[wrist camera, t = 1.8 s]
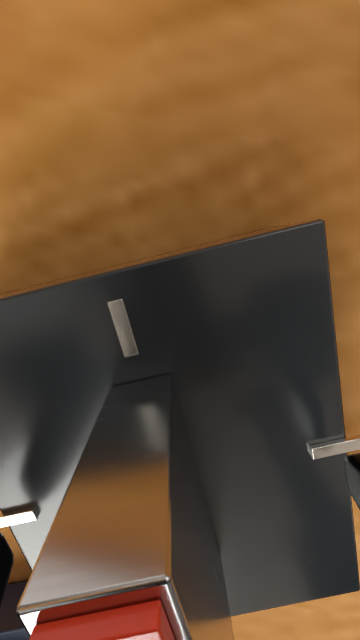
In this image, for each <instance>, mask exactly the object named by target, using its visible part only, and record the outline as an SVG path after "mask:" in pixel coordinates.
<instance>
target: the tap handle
mask: <svg viewBox="0 0 360 640" xmlns="http://www.w3.org/2000/svg"><path fill="white" fill-rule="evenodd" d="M17 616H18V618H19V619H20V621H21V623H22V625H23V626H24V628H25V630H26V632H27V633H28V635H29V637H30V639H29V640H234V635H233V629H232V622H231V616H230V610H229V603H228V597H227V591H226V584H225V578H224V572H223V565H222V560H221V556H220V552H219V549H218V545H217V541H216V538H215V534H214V530H213V527H212V523H211V519H210V515H209V512H208V508H207V504H206V501H205V497H204V493H203V490H202V486H201V482H200V479H199V475H198V471H197V468H196V464H195V460H194V456H193V453H192V449H191V445H190V442H189V438H188V434H187V431H186V427H185V423H184V420H183V416H182V412H181V408H180V405H179V401H178V397H177V394H176V390H175V386H174V383H173V379H172V376H171V375H170V374H168V375H164V376H159V377H155V378H151V379H146V380H142V381H138V382H133V383H129V384H125V385H121V386H116V387H112V388H110V389H109V391H108V394H107V396H106V398H105V401H104V403H103V405H102V408H101V410H100V412H99V415H98V417H97V420H96V422H95V424H94V427H93V429H92V431H91V434H90V436H89V438H88V441H87V443H86V445H85V448H84V450H83V452H82V455H81V457H80V460H79V462H78V464H77V467H76V469H75V471H74V474H73V476H72V478H71V481H70V483H69V485H68V488H67V490H66V493H65V495H64V497H63V500H62V502H61V504H60V507H59V509H58V511H57V514H56V516H55V518H54V521H53V523H52V525H51V528H50V530H49V533H48V535H47V537H46V540H45V542H44V544H43V547H42V549H41V551H40V554H39V556H38V558H37V561H36V563H35V565H34V568H33V570H32V573H31V575H30V577H29V580H28V582H27V584H26V587H25V589H24V591H23V594H22V596H21V598H20V601H19V603H18V605H17Z"/></svg>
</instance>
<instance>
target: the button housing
mask: <svg viewBox="0 0 360 640" xmlns="http://www.w3.org/2000/svg"><path fill="white" fill-rule="evenodd" d="M27 582H28V581H23V582H18V583H13V584H9V585H7V586H6V590H5V593H4V596H3V600H2V603H1V607H0V640H29V639H30V637H29V635H28V633H27V632H26V630H25V628H24V626H23V625H22V623H21V621H20V619H19V618H18V616H17V605H18V603H19V601H20V598H21V596H22V594H23V591H24V589H25V587H26V584H27Z"/></svg>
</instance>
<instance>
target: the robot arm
mask: <svg viewBox="0 0 360 640" xmlns="http://www.w3.org/2000/svg"><path fill="white" fill-rule="evenodd" d="M344 465H345V475H346V483H347V486H348V489H349V491H350V493H351V495H352V497H353V499H354V500H355V502H356V504H357V506H358V508H359V509H360V453H357V454H353V455H348V456H346V457H345V458H344ZM12 566H13V553H12V550H11V549H10V547H9V545H8V543H7V541H6V539H5V537H4V536H3V534H2V533H0V607H1V603H2V600H3V596H4V593H5V590H6V586H7V583H8V580H9V576H10V573H11V569H12Z"/></svg>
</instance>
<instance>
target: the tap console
mask: <svg viewBox="0 0 360 640" xmlns="http://www.w3.org/2000/svg"><path fill="white" fill-rule="evenodd" d="M168 374H170V375H171V376H172V379H173V383H174V386H175V390H176V394H177V397H178V401H179V405H180V408H181V412H182V416H183V420H184V423H185V427H186V431H187V434H188V438H189V442H190V445H191V449H192V453H193V456H194V460H195V464H196V468H197V471H198V475H199V479H200V482H201V486H202V490H203V493H204V497H205V501H206V504H207V508H208V512H209V515H210V519H211V523H212V527H213V530H214V534H215V538H216V541H217V545H218V549H219V552H220V556H221V560H222V565H223V572H224V578H225V584H226V591H227V597H228V603H229V610H230V616H236V615H241V614H246V613H251V612H256V611H261V610H266V609H271V608H276V607H281V606H286V605H290V604H295V603H300V602H305V601H310V600H315V599H320V598H325V597H330V596H335V595H340V594H345V593H350V592H355V591H359V590H360V583H359V572H358V562H357V552H356V541H355V531H354V521H353V510H352V500H351V493H350V491H349V489H348V486H347V483H346V475H345V465H344V458H345V457H346V456H347V452H351V451H356V450H360V435H355V436H350V437H346V438H345V428H344V417H343V407H342V397H341V386H340V376H339V366H338V355H337V345H336V335H335V324H334V314H333V304H332V293H331V283H330V273H329V262H328V252H327V241H326V231H325V222H324V220H321V219H318V220H312V221H306V222H300V223H294V224H287V225H281V226H275V227H271V228H267V229H263V230H259V231H255V232H251V233H247V234H243V235H239V236H235V237H231V238H227V239H222V240H218V241H214V242H210V243H206V244H202V245H198V246H194V247H190V248H186V249H182V250H178V251H174V252H170V253H166V254H162V255H158V256H154V257H150V258H146V259H141V260H137V261H133V262H129V263H125V264H121V265H117V266H113V267H109V268H105V269H101V270H97V271H93V272H89V273H85V274H81V275H77V276H73V277H69V278H65V279H60V280H56V281H52V282H48V283H44V284H40V285H36V286H32V287H28V288H24V289H20V290H16V291H12V292H8V293H4V294H0V511H1V512H2V513H0V528H3V527H7V526H9V528H10V530H11V532H12V534H13V535H14V537H15V539H16V541H17V543H18V545H19V547H20V549H21V551H22V553H23V555H24V557H25V558H26V560H27V562H28V564H29V566H30V568H31V570H33V568H34V565H35V563H36V561H37V558H38V556H39V554H40V551H41V549H42V547H43V544H44V542H45V540H46V537H47V535H48V533H49V530H50V528H51V525H52V523H53V521H54V518H55V516H56V514H57V511H58V509H59V507H60V504H61V502H62V500H63V497H64V495H65V493H66V490H67V488H68V485H69V483H70V481H71V478H72V476H73V474H74V471H75V469H76V467H77V464H78V462H79V460H80V457H81V455H82V452H83V450H84V448H85V445H86V443H87V441H88V438H89V436H90V434H91V431H92V429H93V427H94V424H95V422H96V420H97V417H98V415H99V412H100V410H101V408H102V405H103V403H104V401H105V398H106V396H107V394H108V391H109V389H110V388H112V387H116V386H121V385H125V384H129V383H133V382H138V381H142V380H146V379H151V378H155V377H159V376H164V375H168Z"/></svg>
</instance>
